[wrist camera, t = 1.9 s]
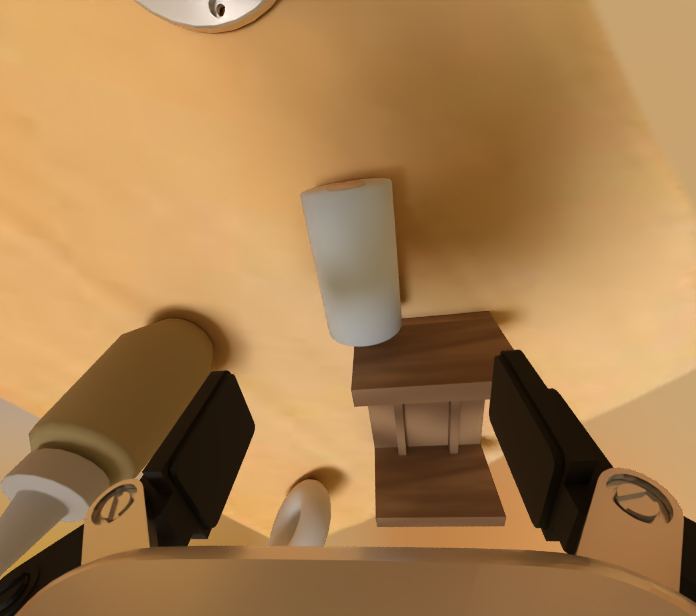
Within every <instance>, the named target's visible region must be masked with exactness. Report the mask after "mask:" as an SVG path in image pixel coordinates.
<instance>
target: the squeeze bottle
mask: <svg viewBox="0 0 696 616" xmlns="http://www.w3.org/2000/svg"><path fill="white" fill-rule="evenodd" d="M213 355H214V348H213V344H212V341H211V339H210V338H209V337H208V335H207V334H206V333H205V331H203V330H202V329H201V328H199V327H198V326H197V325H195V324H194V323H191V322H189V321H186V320H183V319H178V318H167V319H164V320H162V321H159V322H156V323H153V324H150V325H148V326H145V327H142V328H139V329H136V330H134V331H131V332H128V333H125V334H122V335H121V336H120V337H119V338H118V339H117V340H116V341H115V342H114V343H113V344H112V346H111V347H110V348H109V349H108V350H107V351H106V352H105V353H104V354H103V355H102V356H101V357H100V358H99V359H98V360H97V361H96V362H95V363H94V364H93V365H92V366H91V367H90V368H89V369H88V371H87V372H86V373H85V374H84V375H83V376H82V377H81V378H80V379H79V380H78V381H77V382H76V383H75V384H74V385H73V386H72V387H71V388H70V389H69V390H68V391H67V392H66V393H65V394H64V396H63V397H62V398H61V399H60V400H59V401H58V402H57V403H56V404H55V405H54V406H53V407H52V408H51V409H50V410H49V411H48V412H47V413H46V414H45V415H44V416H43V417H42V418H41V419H40V421H39V422H38V423H37V424H36V425H35V426H34V428H33V429H32V430H31V431H30V433H29V439H30V446H31V451H32V452H31V453H30V454H28V455H27V456H26V457H25V458H24V459H23V460H22V461H21V462H20V463H19V464H18V465H17V466H16V467H15V468H14V469H13V470H12V471H11V472H10V473H8V474H7V475H6V476H5V478H4V479H3V480H2V481H1V488H2V491H3V493H4V494H5V496H7V497H8V499H9V500H10V501H11V503H10V504H9V506H8V507H7V509H6V510H5V512H4V513H3V514H2V516H1V517H0V576H1V575H2V574H3V573H4V572H5V571H6V570H7V569H8V568H9V567H11V566H12V564H14V563H15V562H16V561H17V560H18V559H19V558H20V557H21V556H22V555H23V554H25V553H26V552H27V551H28V550H29V549H30V548H31V547H32V546H33V545H34V544H35V543H36V542H37V541H38V540H40V539H41V538H42V537H43V536H44V535H45V534H46V533H47V532H48V531H49V530H50V529H51V528H52V527H53V526H55V525H56V524H57V523H58V522H59V521H63V522H75V521H81V520H84V519H85V517H86V513H87V512H88V510H89V508H90V506H91V505H92V504H93V503H94V501H95V500H96V499H97V498H98V497H99V496H100V495H101V494H102V493H103V492H104V491H106V490H107V489H108V488H110V487H111V486H113V485H114V484H116V483H119V482H121V481H123V480H127V479H134V478H135V477H136V476H137V475H138V474H139V473H140V472H141V470H142V469H143V468H144V467H145V465H146V464H147V463H148V462H149V461H150V459H151V458H152V457H153V455H154V454H155V452H156V451H157V450H158V448H159V447H160V445H161V444H162V442H163V441H164V439H165V438H166V436H167V435H168V434H169V432H170V431H171V429H172V428H173V426H174V425H175V423H176V422H177V421H178V419H179V418H180V416H181V415H182V413H183V412H184V410H185V409H186V407H187V406H188V405H189V403H190V402H191V400H192V399H193V397H194V396H195V394H196V393H197V391H198V390H199V389H200V387H201V386H202V384H203V383H204V381H205V380H206V378H207V377H208V376H209V374H210V372H211V366H212V361H213Z"/></svg>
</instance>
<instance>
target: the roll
mask: <svg viewBox="0 0 696 616" xmlns="http://www.w3.org/2000/svg"><path fill="white" fill-rule="evenodd" d="M300 197H301V201H302V206H303V211H304V215H305V220H306V225H307V230H308V234H309V239H310V244H311V248H312V253H313V258H314V262H315V267H316V272H317V277H318V281H319V286H320V291H321V295H322V300H323V305H324V310H325V314H326V319H327V324H328V328H329V333H330V335H331V337H332V338H333V339H334V340H336V341H337V342H339V343H341V344H344V345H348V346H357V347H359V346H371V345H375V344H379V343H382V342H384V341H387V340H389V339H390V338H392V337H393V336H395V335H396V334H397V333H398V332H399V330H400V328H401V326H402V315H401V301H400V287H399V273H398V259H397V246H396V232H395V218H394V204H393V190H392V180H391V179H388V178H366V179H357V180H350V181H344V182H337V183H332V184H327V185H323V186H319V187H316V188H312V189H309V190H307V191H304V192H303V193H301V194H300Z"/></svg>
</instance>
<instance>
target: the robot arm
mask: <svg viewBox="0 0 696 616" xmlns="http://www.w3.org/2000/svg"><path fill="white" fill-rule="evenodd" d="M134 1H135V2H137V3H138V4H139V5H141V6H142V7H143V8H145V9H146V10H148V11H149V12H150V13H152V14H154V15H156V16H158V17H159V18H161V19H163V20H165V21H167V22H169V23H171V24H173V25H176V26H179V27H182V28H185V29H188V30H191V31H196V32H206V33H218V32H225V31H231V30H235V29H237V28H240V27H242V26H244V25H246V24H249V23H251V22H253V21H254V20H256V19H257V18H258V17H259V16H261V15H262V14H263V13H264V12H266V11H267V10H268V9H269V8H271V6H272V5H273V4H274V3H275V2H276V0H134ZM221 7H225V13H224V15H223V16H222V17H221V15H220V9H221ZM489 417H490V422H491V424H492V427H493V429H494V432H495V434H496V437H497V439H498V441H499V444H500V446H501V449H502V451H503V453H504V456H505V458H506V461H507V463H508V465H509V468H510V470H511V473H512V475H513V478H514V480H515V482H516V485H517V487H518V489H519V492H520V494H521V497H522V499H523V502H524V504H525V507H526V509H527V512H528V514H529V516H530V519H531V521H532V523H533V525H534V526H535V527H536V528H541V530H542V532H543V535H544V537H545V539H546V541H560V543H561V546H562V548H563V550H564V551H565V552H566V553H568V554H565V553H557V552H545V551H533V550H506V549H475V548H415V547H414V548H413V547H328V546H327V547H326V546H188V544H189V541H190V539H208V536H209V534H210V531H211V529H212V528H214V527H215V526H216V525H217V523H218V521H219V519H220V516H221V514H222V511H223V509H224V506H225V504H226V501H227V499H228V496H229V494H230V491H231V489H232V486H233V484H234V481H235V479H236V476H237V474H238V471H239V469H240V467H241V464H242V462H243V459H244V457H245V454H246V452H247V449H248V447H249V444H250V442H251V439H252V437H253V434H254V431H255V424H254V421H253V418H252V416H251V414H250V411H249V409H248V406H247V404H246V402H245V399H244V397H243V394H242V392H241V389H240V387H239V385H238V382H237V380H236V377H235V376H234V375H233V374H231V373H230V372H229V371H227V370H225V371H213V372H211V373H210V374H209V376H208V377H207V378H206V380H205V381H204V383H203V384H202V386H201V387H200V389H199V390H198V391H197V393H196V394H195V396H194V397H193V399H192V400H191V402H190V403H189V405H188V406H187V407H186V409H185V410H184V412H183V413H182V415H181V416H180V418H179V419H178V421H177V422H176V423H175V425H174V426H173V428H172V429H171V431H170V432H169V434H168V435H167V436H166V438H165V439H164V441H163V442H162V444H161V445H160V447H159V448H158V450H157V451H156V452H155V454H154V455H153V457H152V458H151V460H150V461H149V463H148V464H147V466H146V467H145V468H144V470H143V471H142V473H143V474H144V475H143V476H142V478H141V479H140V481H139V480H137V479H127V480H123V481H121V482H119V483H116V484H114V485H113V486H111V487H110V488H108V489H107V490H106V491H104V492H103V493H102V494H101V495H100V496H99V497H98V498H97V499H96V500H95V501H94V503H93V504H92V505H91V506H90V508H89V510H88V512H87V513H86V517H85V521H84V524H83V525H81V526H80V527H79V528H77V529H75V530H74V531H72V532H71V533H69V534H68V535H66V536H64V537H63V538H62V539H60V540H58V541H57V542H55V543H54V544H52V545H51V546H49V547H47V548H46V549H44V550H43V551H41V552H40V553H38V554H37V555H35V556H34V557H32V558H31V559H29V560H27V561H26V562H24V563H23V564H21V565H20V566H18V567H17V568H15V569H14V570H12V571H11V572H10V573H8V574H7V575H6V576H4V577H3V578H2V579H1V580H0V616H696V523H695V522H694V521H692V520H690V519H688V518H686V517H684V516H683V512H682V509H681V507H680V506H679V504H678V502H677V500H676V499H675V498H674V497H673V496H672V495H671V494H670V492H669V491H668V490H667V489H665V488H664V487H663V486H662V485H660V484H659V483H658V482H656V481H655V480H653V479H651V478H649V477H647V476H646V475H644V474H641V473H639V472H636V471H633V470H630V469H624V468H613V467H612V465H611V464H610V462H609V461H608V460H607V458H606V457H605V455H604V454H603V453H602V451H601V450H600V449H599V447H598V446H597V445H596V443H595V442H594V440H593V439H592V438H591V436H590V435H589V433H588V432H587V431H586V430H585V428H584V427H583V425H582V424H581V422H580V421H579V420H578V418H577V417H576V416H575V414H574V413H573V411H572V410H571V409H570V407H569V406H568V405H567V403H566V402H565V400H564V399H563V398H562V396H561V395H560V394H559V393H558V392H557V390H555V389H553V388H551V389H548V388H547V387H546V385H545V384H544V382H543V381H542V380H541V378H540V377H539V375H538V374H537V372H536V371H535V369H534V368H533V367H532V365H531V364H530V362H529V361H528V359H527V358H526V357H525V355H524V354H523V352H522V351H521V350H507V351H501V352H500V355H498V356H495V358H494V367H493V377H492V387H491V397H490V407H489Z"/></svg>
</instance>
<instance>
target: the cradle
mask: <svg viewBox="0 0 696 616" xmlns="http://www.w3.org/2000/svg"><path fill="white" fill-rule="evenodd" d="M507 350H514V349H513V348H512V346H511V345H510V343H509V342H508V340H507V339H506V337H505V336H504V334H503V333H502V331H501V330H500V328H499V327H498V325H497V323H496V322H495V320H494V319H493V317H492V316H491V314H490V313H489V311H486V312H475V313H464V314H453V315H441V316H430V317H419V318H408V319H402V326H401V328H400V330H399V332H398V333H397V334H396V335H395V336H393V337H392V338H390V339H389V340H387V341H384V342H382V343H379V344H375V345H371V346H359V347H357V346H354V360H353V373H352V386H351V392H352V397H353V402H354V407H357V406H368V409H369V415H370V421H371V427H372V433H373V440H374V446H375V497H376V522H377V526H378V527H420V526H421V527H427V526H428V527H431V526H504V525H505V520H506V515H505V512H504V510H503V507H502V504H501V501H500V498H499V495H498V492H497V490H496V487H495V484H494V481H493V479H492V475H491V473H490V470H489V467H488V464H487V461H486V458H485V455H484V453H483V450H482V447H481V444H480V443H481V433H482V423H483V412H484V402H485V399H490V397H491V387H492V377H493V367H494V358H495V356H498V355H500V352H501V351H507Z"/></svg>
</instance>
